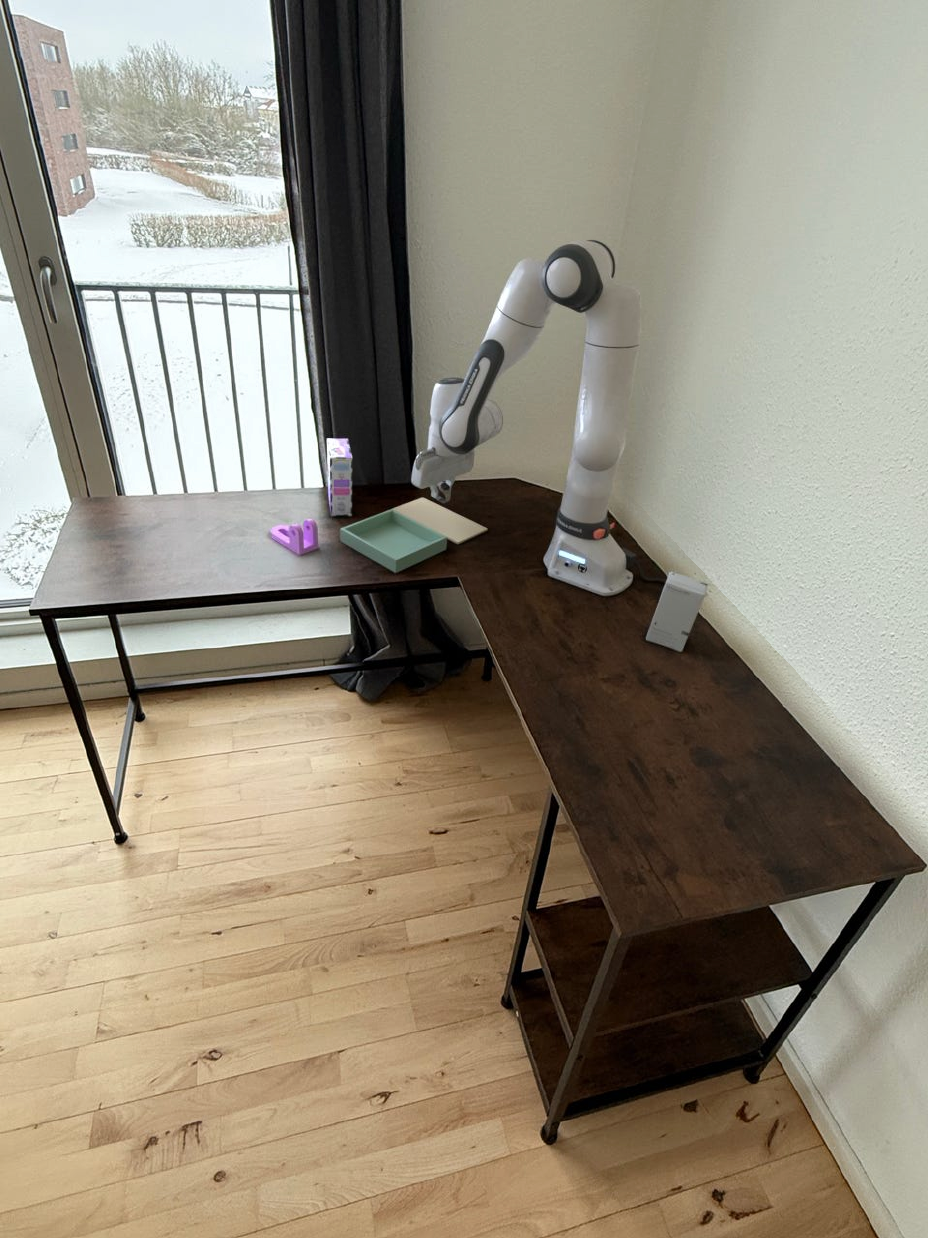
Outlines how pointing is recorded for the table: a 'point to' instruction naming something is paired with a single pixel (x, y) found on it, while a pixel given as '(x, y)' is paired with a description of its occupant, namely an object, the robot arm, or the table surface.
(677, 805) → the table surface
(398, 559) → the tray
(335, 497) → the candy box
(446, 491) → the wristwatch
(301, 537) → the bracket
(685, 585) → the cosmetic box
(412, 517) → the mat
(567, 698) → the table surface
